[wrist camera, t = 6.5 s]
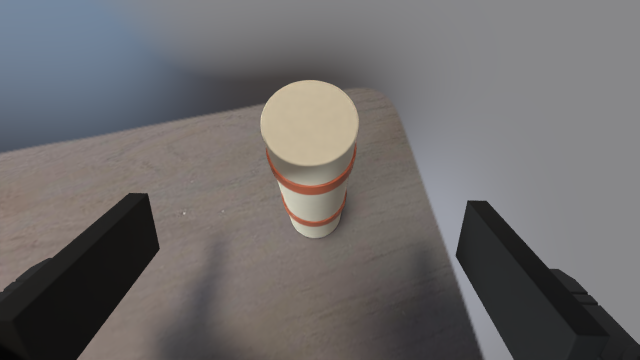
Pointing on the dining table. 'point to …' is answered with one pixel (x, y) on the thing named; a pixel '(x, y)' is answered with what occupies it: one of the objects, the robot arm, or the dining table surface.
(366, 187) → the dining table surface
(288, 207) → the cream banded cylinder
